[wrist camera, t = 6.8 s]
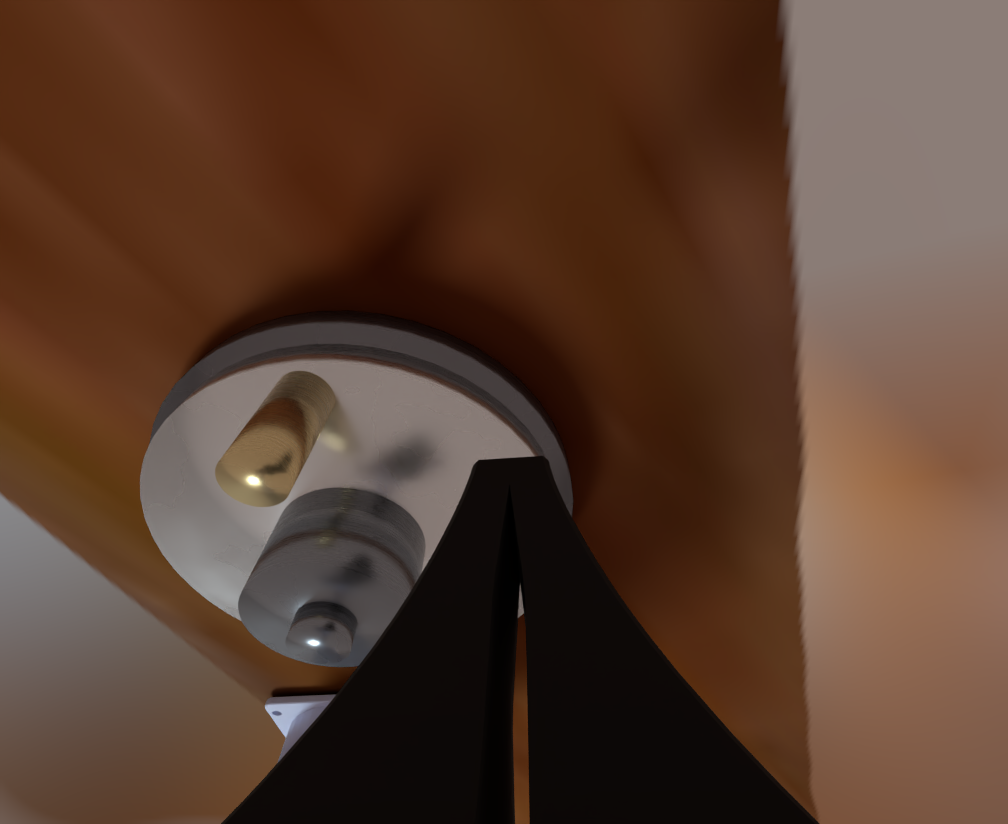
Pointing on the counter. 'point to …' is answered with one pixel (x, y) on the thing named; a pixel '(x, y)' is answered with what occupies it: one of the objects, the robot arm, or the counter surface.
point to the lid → (332, 576)
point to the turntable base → (389, 337)
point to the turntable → (313, 452)
